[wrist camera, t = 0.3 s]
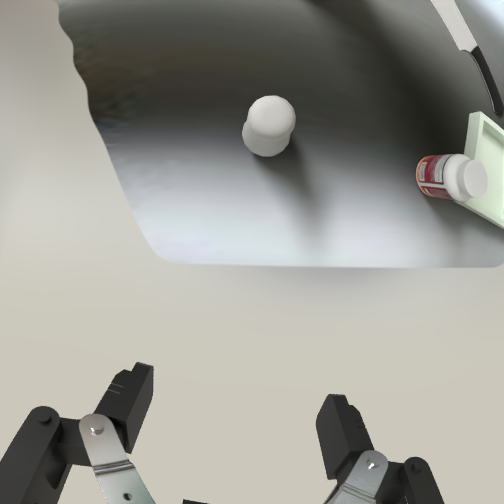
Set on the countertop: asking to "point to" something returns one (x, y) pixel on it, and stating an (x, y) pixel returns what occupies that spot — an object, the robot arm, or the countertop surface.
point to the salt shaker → (269, 126)
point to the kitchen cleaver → (468, 46)
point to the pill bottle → (452, 177)
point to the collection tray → (487, 166)
